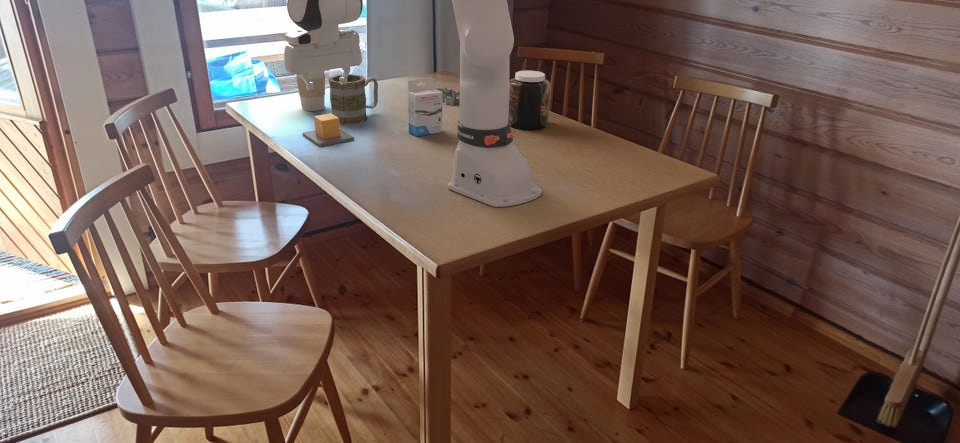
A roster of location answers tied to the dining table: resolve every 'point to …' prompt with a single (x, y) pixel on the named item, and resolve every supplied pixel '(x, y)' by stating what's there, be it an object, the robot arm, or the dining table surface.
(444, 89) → the egg carton
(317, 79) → the coffee cup
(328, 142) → the plate
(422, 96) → the ink box
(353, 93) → the mug
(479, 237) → the dining table surface
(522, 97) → the jar
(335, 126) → the orange cubic block
